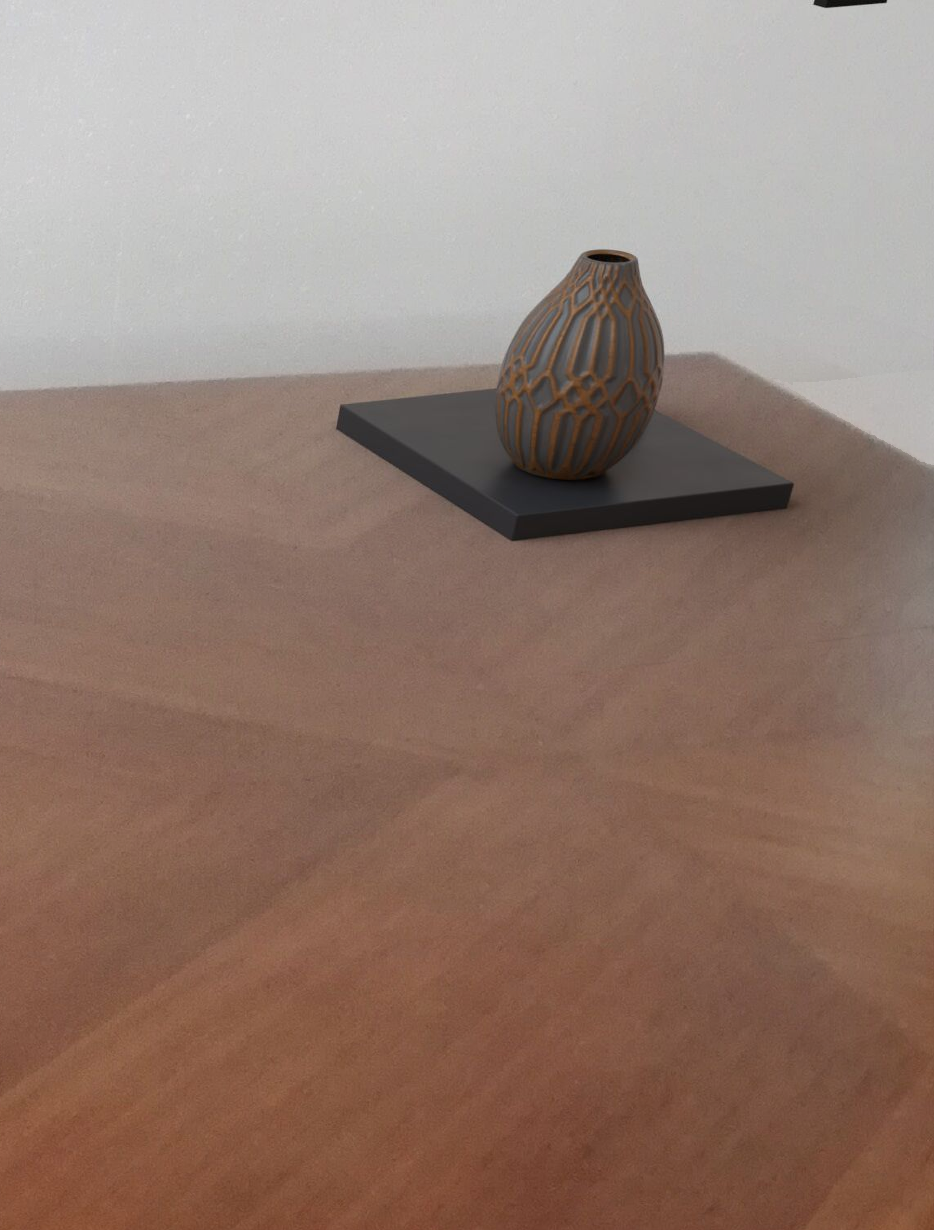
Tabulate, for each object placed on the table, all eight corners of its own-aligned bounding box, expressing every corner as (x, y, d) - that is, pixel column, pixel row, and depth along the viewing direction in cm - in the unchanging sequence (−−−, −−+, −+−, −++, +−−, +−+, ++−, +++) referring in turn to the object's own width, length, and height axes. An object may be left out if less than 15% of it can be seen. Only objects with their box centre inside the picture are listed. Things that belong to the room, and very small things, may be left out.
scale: (795, 509, 111) (816, 440, 109) (511, 543, 108) (527, 472, 106) (596, 402, 123) (612, 338, 121) (335, 430, 120) (346, 364, 118)
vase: (452, 468, 112) (497, 258, 106) (525, 431, 116) (572, 226, 110) (594, 503, 108) (648, 288, 102) (665, 464, 112) (721, 254, 106)
